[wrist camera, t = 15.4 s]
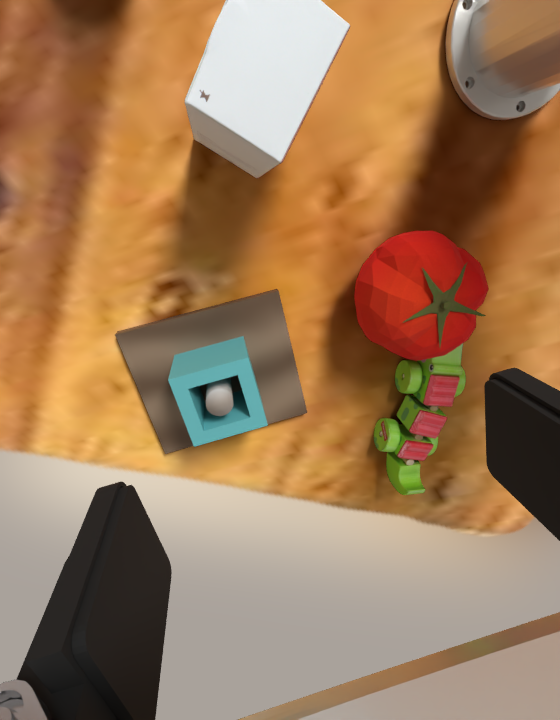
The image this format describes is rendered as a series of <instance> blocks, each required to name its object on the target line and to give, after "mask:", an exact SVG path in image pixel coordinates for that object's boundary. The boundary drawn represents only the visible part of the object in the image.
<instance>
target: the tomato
mask: <svg viewBox="0 0 560 720" xmlns="http://www.w3.org/2000/svg"><path fill="white" fill-rule="evenodd" d="M487 292H488V285H487V281H486V277H485V274H484V271H483V269H482V267H481V264H480V263H479V262H478V261H477V260H476V259H475V258H474V257H472V256H471V255H470V254H469V253H468V252H467V251H466V250H464V249H462V248H459V247H457V246H456V245H455V243H453V242H452V241H451V240H450V239H448V238H447V237H446V236H444V235H443V234H441V233H438V232H435V231H412V232H406V233H402V234H399V235H396V236H394V237H391V238H389V239H387V240H386V241H385V242H384V243H382V244H381V245H380V246H379V247H377V248H376V249H375V250H374V251H373V253H372V254H371V255H370V256H369V258H368V259H367V260H366V261H365V263H364V264H363V265H362V267H361V270H360V272H359V275H358V277H357V280H356V285H355V293H354V298H355V306H356V313H357V319H358V323H359V325H360V327H361V329H362V330H363V332H364V334H365V336H366V337H367V338H368V339H369V340H371V341H372V342H374V343H376V344H379V345H381V346H383V347H384V348H386V349H387V350H389V351H390V352H392V353H395V354H397V355H399V356H401V357H404V358H407V359H411V360H415V361H417V360H425V359H430V358H434V357H439V356H444V355H446V354H448V353H449V352H451V351H453V350H454V349H456V348H457V347H458V346H460V345H461V344H463V343H464V342H465V341H467V340H468V339H469V337H470V336H471V334H472V332H473V331H474V329H475V327H476V315H479V316H485V315H483V314H481V313H479V312H477V311H476V309H477V308H478V307H479V306H480V305H482V304H483V302H484V299H485V297H486V294H487Z"/></svg>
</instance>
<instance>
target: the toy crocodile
mask: <svg viewBox="0 0 560 720" xmlns="http://www.w3.org/2000/svg"><path fill="white" fill-rule="evenodd" d="M462 347H463V344H461V345H460V346H458V347H457V348H456V349H454V350H453V351H451V352H449V353H448V354H446V355H444V356H439V357H434V358H430V359H425V360H417V362H416V361H412V360H402V361H401V362H400V363H399V364H398V366H397V369H396V372H395V384H396V387H397V389H398V391H399V392H401V393H406V394H414V396H411V395H406V397H405V399H404V401H403V403H402V405H401V407H400V408H399V410H398V412H397V417H398V418H399V419H400V421H401V422H402V423H403V424H404V425H401V424H398V423H397V421H396V420H394V419H389V418H381V419H379V420H378V422H377V423H376V426H375V429H374V443H375V446H376V448H377V449H378V450H379V451H383V452H388V453H387V461H386V467H387V474H388V477H389V480H390V482H391V483H392V485H393V486H394V488H395V489H396V490H397V491H398V492H399V493H400V494H402V495H410V494H419V493H424V492H425V488H424V487H423V485H422V482H421V479H420V463H419V461H418V460H420V461H424V460H425V459H426V457H427V456H429V455H432V454H433V453H434V452H435V450H436V448H437V445H438V435H439V433H440V431H441V429H442V427H443V426H444V424H445V422H446V420H447V417H446V415H445V414H444V413H443V412H442V411H441V410H440V409H439V408H438V406H447V407H451V406H452V404H453V400H454V397H456V396H458V395H460V394H461V393H462V391H463V389H464V387H465V383H466V376H465V372H464V369H463V368H462V366H461V357H462ZM415 396H416V397H415Z"/></svg>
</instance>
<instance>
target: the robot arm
mask: <svg viewBox="0 0 560 720" xmlns="http://www.w3.org/2000/svg"><path fill="white" fill-rule="evenodd" d="M445 44H446V61H447V66H448V71H449V75H450V78H451V81H452V83H453V86H454V88H455V90H456V92H457V93H458V95H459V96H460V98H461V100H462V101H463V102H464V103H465V104H466V105H467V106H468V107H469V108H470V109H471V110H472V111H474V112H476V113H477V114H479V115H481V116H483V117H486V118H489V119H493V120H508V119H513V118H518V117H521V116H524V115H527V114H530V113H531V112H533V111H535V110H537V109H539V108H541V107H542V106H543V105H545V104H546V103H547V102H548V101H550V100H551V99H552V98H553V97H554V96H555V95H556V94H557V93H558V91H559V90H560V0H455V1H454V3H453V6H452V8H451V12H450V16H449V20H448V25H447V33H446V43H445ZM465 83H466V85H465ZM485 420H486V455H487V466H488V469H489V471H490V473H491V474H492V476H493V477H494V478H495V479H496V480H497V481H498V482H499V483H500V484H501V485H502V486H503V487H504V488H506V489H507V490H508V491H509V492H510V493H511V494H512V495H513V496H514V497H515V498H516V499H517V500H518V501H519V502H520V503H521V504H522V505H523V506H524V507H525V508H526V509H527V510H528V511H529V512H530V513H531V514H532V515H533V516H534V517H536V518H537V519H538V520H539V521H540V522H541V523H542V524H543V525H544V526H545V527H546V528H547V529H548V530H549V531H550V532H551V533H552V534H553V535H554V536H555V537H556V538H557V539H558V540H559V541H560V391H559V390H557V389H555V388H553V387H551V386H549V385H547V384H546V383H544V382H542V381H540V380H538V379H536V378H534V377H532V376H531V375H529V374H527V373H525V372H523V371H521V370H519V369H517V368H511V369H507V370H504V371H500V372H497V373H493V374H492V375H491V376H490V378H489V381H487V382H486V383H485ZM170 583H171V565H170V561H169V559H168V557H167V554H166V553H165V551H164V548H163V546H162V544H161V542H160V540H159V538H158V536H157V534H156V532H155V530H154V527H153V525H152V523H151V521H150V519H149V517H148V515H147V513H146V511H145V509H144V507H143V505H142V502H141V500H140V498H139V496H138V494H137V492H136V490H135V488H134V487H133V486H132V485H129V486H126V484H125V483H124V482H118V483H115V484H111V485H108V486H104V487H101V488H99V489H97V491H96V492H95V495H94V497H93V500H92V502H91V505H90V507H89V510H88V512H87V514H86V517H85V519H84V522H83V524H82V527H81V529H80V531H79V534H78V536H77V539H76V541H75V544H74V546H73V549H72V551H71V553H70V556H69V557H68V559H67V560H66V562H65V564H64V567H63V569H62V572H61V574H60V576H59V579H58V581H57V583H56V586H55V588H54V591H53V593H52V596H51V598H50V600H49V603H48V605H47V608H46V610H45V612H44V615H43V617H42V620H41V622H40V624H39V627H38V629H37V632H36V634H35V636H34V639H33V641H32V644H31V646H30V648H29V651H28V653H27V656H26V658H25V661H24V663H23V665H22V668H21V670H20V673H19V675H18V677H17V680H11V681H7V682H3V683H1V684H0V720H155V716H156V707H157V698H158V690H159V681H160V672H161V663H162V654H163V644H164V636H165V628H166V618H167V610H168V609H167V608H168V601H169V592H170ZM238 720H560V612H559V613H556V614H553V615H550V616H547V617H544V618H541V619H537V620H534V621H531V622H528V623H525V624H522V625H519V626H516V627H513V628H510V629H507V630H504V631H501V632H498V633H495V634H492V635H489V636H486V637H482V638H480V639H477V640H473V641H471V642H467V643H464V644H462V645H458V646H455V647H452V648H449V649H447V650H443V651H440V652H437V653H434V654H431V655H428V656H425V657H422V658H419V659H416V660H413V661H410V662H407V663H404V664H401V665H398V666H395V667H392V668H389V669H386V670H383V671H380V672H377V673H374V674H371V675H368V676H365V677H362V678H359V679H356V680H353V681H350V682H347V683H344V684H341V685H339V686H336V687H332V688H329V689H326V690H324V691H321V692H318V693H315V694H312V695H309V696H306V697H303V698H300V699H297V700H294V701H291V702H288V703H285V704H282V705H279V706H276V707H273V708H270V709H268V710H264V711H262V712H259V713H256V714H253V715H250V716H247V717H244V718H241V719H238Z"/></svg>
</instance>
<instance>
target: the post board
mask: <svg viewBox="0 0 560 720" xmlns="http://www.w3.org/2000/svg"><path fill="white" fill-rule="evenodd" d="M115 336H116V338H117V340H118V343H119V345H120V348H121V350H122V352H123V355H124V357H125V359H126V362H127V364H128V367H129V369H130V371H131V374H132V376H133V378H134V381H135V383H136V385H137V388H138V390H139V393H140V395H141V397H142V400H143V402H144V404H145V407H146V409H147V412H148V414H149V416H150V419H151V421H152V423H153V426H154V428H155V430H156V433H157V435H158V438H159V440H160V442H161V445H162V447H163V449H164V452H165V454H167V453H170V452H174V451H177V450H181V449H184V448H188V447H191V446H194V445H193V443H192V440H191V438H190V435H189V433H188V430H187V427H186V425H185V422H184V420H183V417H182V415H181V412H180V409H179V407H178V404H177V402H176V399H175V396H174V394H173V391H172V389H171V386H170V384H169V381H168V378H169V374H170V370H171V367H172V363H173V359H174V355H177V354H180V353H184V352H187V351H191V350H195V349H198V348H202V347H205V346H209V345H213V344H216V343H220V342H224V341H227V340H231V339H234V338H238V337H242V336H243V337H244V340H245V344H246V347H247V351H248V354H249V358H250V361H251V364H252V368H253V371H254V375H255V378H256V382H257V385H258V389H259V392H260V396H261V400H262V404H263V408H264V412H265V416H266V420H267V424H271V423H274V422H278V421H281V420H285V419H288V418H292V417H295V416H299V415H302V414H305V413H307V410H306V405H305V401H304V397H303V393H302V388H301V384H300V380H299V376H298V372H297V367H296V363H295V359H294V355H293V350H292V346H291V342H290V338H289V333H288V329H287V325H286V321H285V316H284V312H283V308H282V304H281V300H280V295H279V291H278V290H277V289H275V290H271V291H267V292H264V293H260V294H256V295H252V296H249V297H245V298H241V299H238V300H234V301H230V302H226V303H223V304H219V305H215V306H211V307H208V308H204V309H200V310H196V311H193V312H189V313H185V314H182V315H178V316H174V317H170V318H167V319H163V320H159V321H155V322H152V323H148V324H144V325H140V326H137V327H133V328H129V329H125V330H122V331H118V332H117V333H116V334H115ZM200 389H201V391H202V394H203V397H204V400H205V401H206V408H207V410H208V411H209V412H210V413H211V414H213V415H215V416H224V415H226V414H228V413H229V412H230V411H231V410H232V408H233V395H232V393H234V392H238V391H241V390H242V388H241V384H240V381H239V378H238V375H236V376H232V377H229V378H225V379H221V380H218V381H214V382H211V383H207V384H204V385H200Z"/></svg>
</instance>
